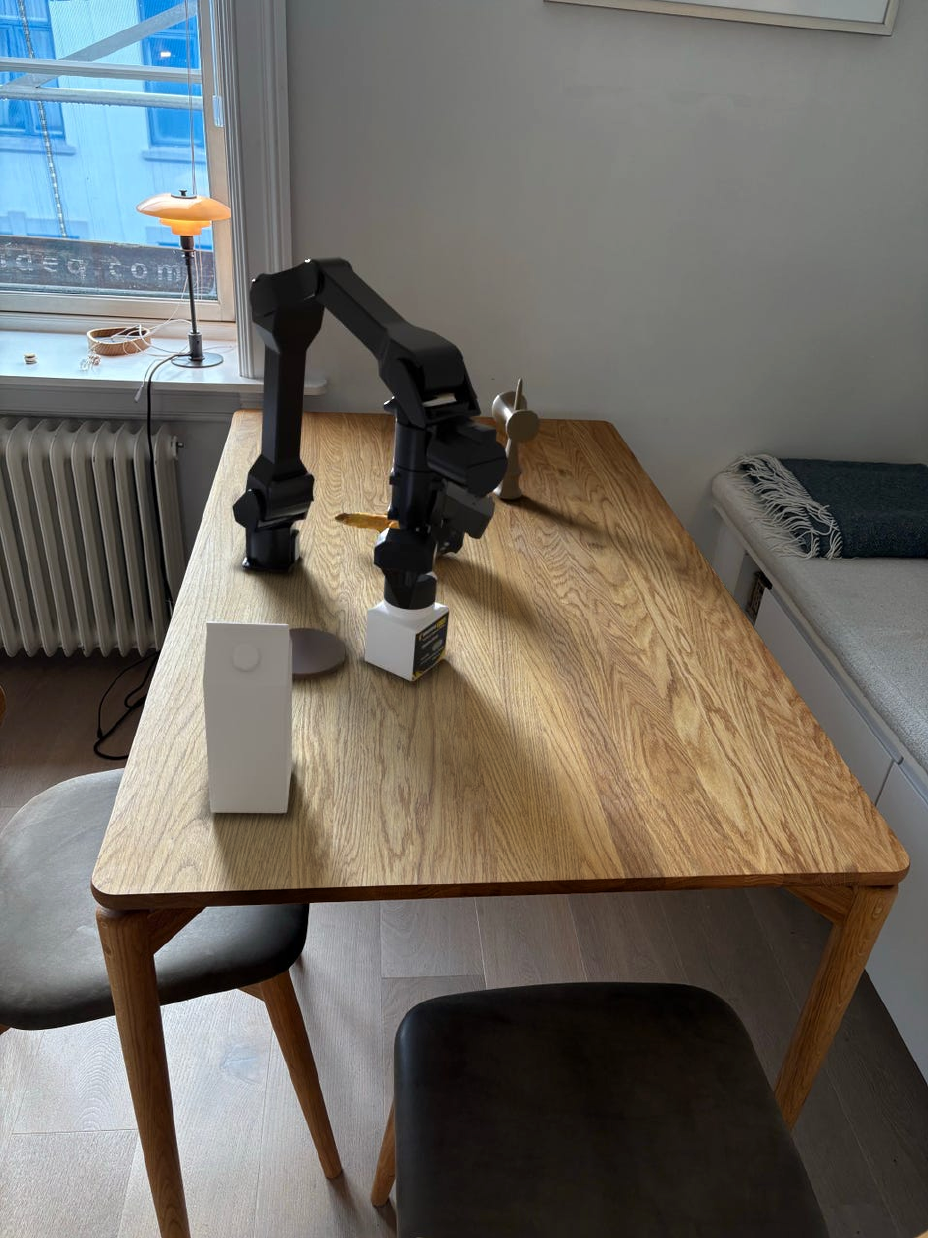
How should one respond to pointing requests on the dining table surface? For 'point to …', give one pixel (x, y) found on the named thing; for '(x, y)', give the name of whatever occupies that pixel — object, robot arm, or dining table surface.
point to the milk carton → (248, 716)
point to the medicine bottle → (407, 631)
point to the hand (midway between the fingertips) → (410, 588)
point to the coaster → (315, 653)
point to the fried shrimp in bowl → (445, 536)
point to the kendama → (514, 436)
